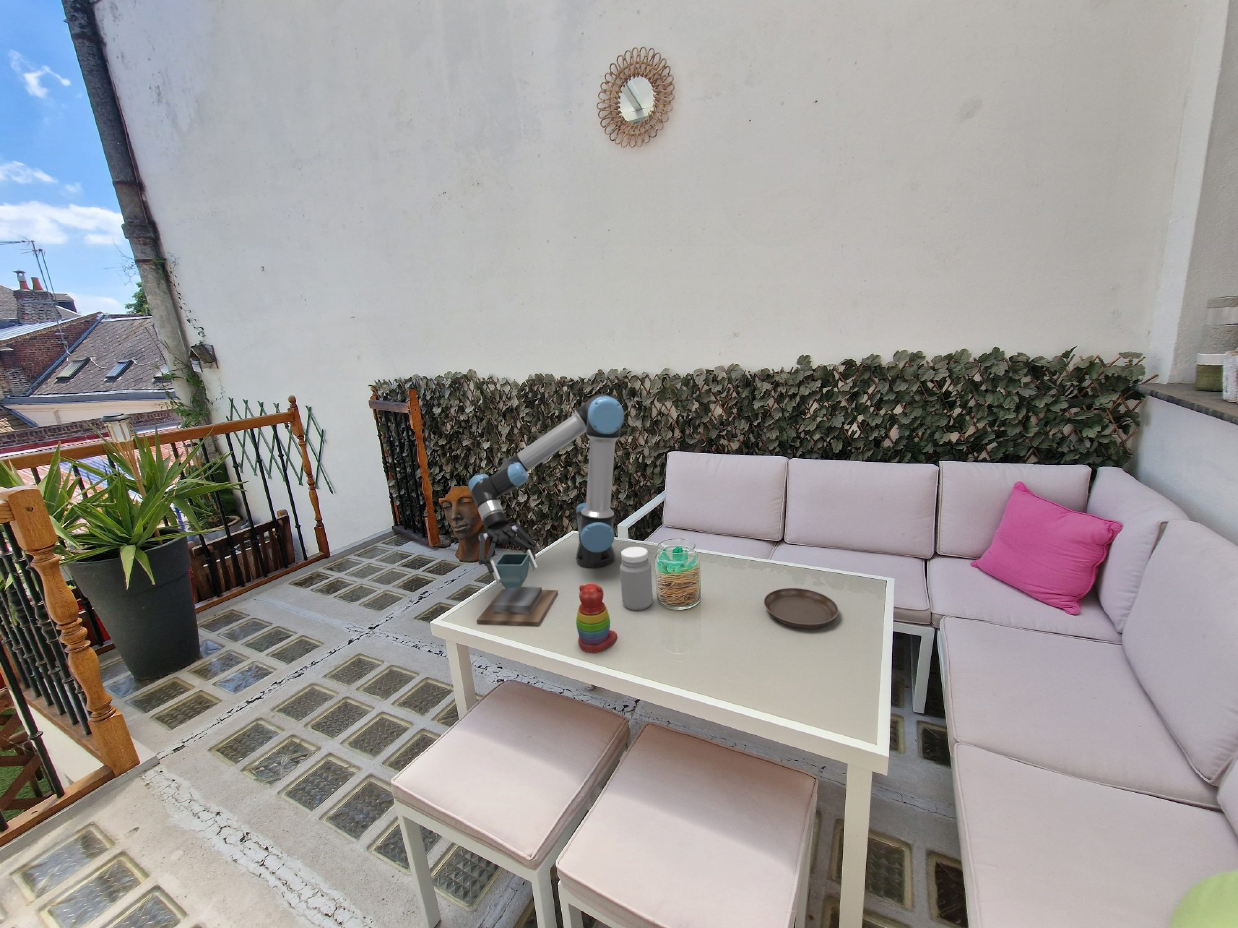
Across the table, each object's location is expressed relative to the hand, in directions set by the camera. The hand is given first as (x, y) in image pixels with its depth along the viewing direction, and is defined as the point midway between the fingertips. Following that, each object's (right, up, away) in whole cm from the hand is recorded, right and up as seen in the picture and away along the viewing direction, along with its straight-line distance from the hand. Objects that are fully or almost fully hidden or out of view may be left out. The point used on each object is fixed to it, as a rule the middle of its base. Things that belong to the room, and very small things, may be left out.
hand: (517, 574), depth 158 cm
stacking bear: (+25, -16, -16) cm, 34 cm away
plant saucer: (+86, -10, -9) cm, 87 cm away
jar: (+38, -10, +3) cm, 39 cm away
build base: (0, -12, +5) cm, 13 cm away
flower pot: (-1, -4, +3) cm, 5 cm away
